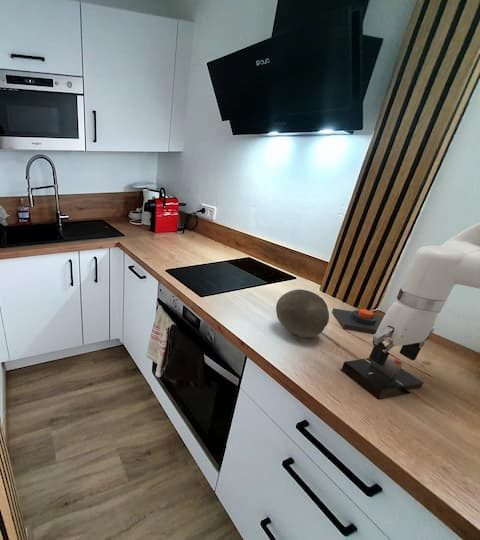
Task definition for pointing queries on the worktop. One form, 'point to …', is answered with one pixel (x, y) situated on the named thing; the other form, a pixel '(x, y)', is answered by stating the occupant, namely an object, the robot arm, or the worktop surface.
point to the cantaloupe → (302, 313)
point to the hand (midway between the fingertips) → (391, 359)
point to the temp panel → (380, 379)
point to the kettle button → (365, 313)
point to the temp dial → (389, 367)
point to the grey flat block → (357, 321)
